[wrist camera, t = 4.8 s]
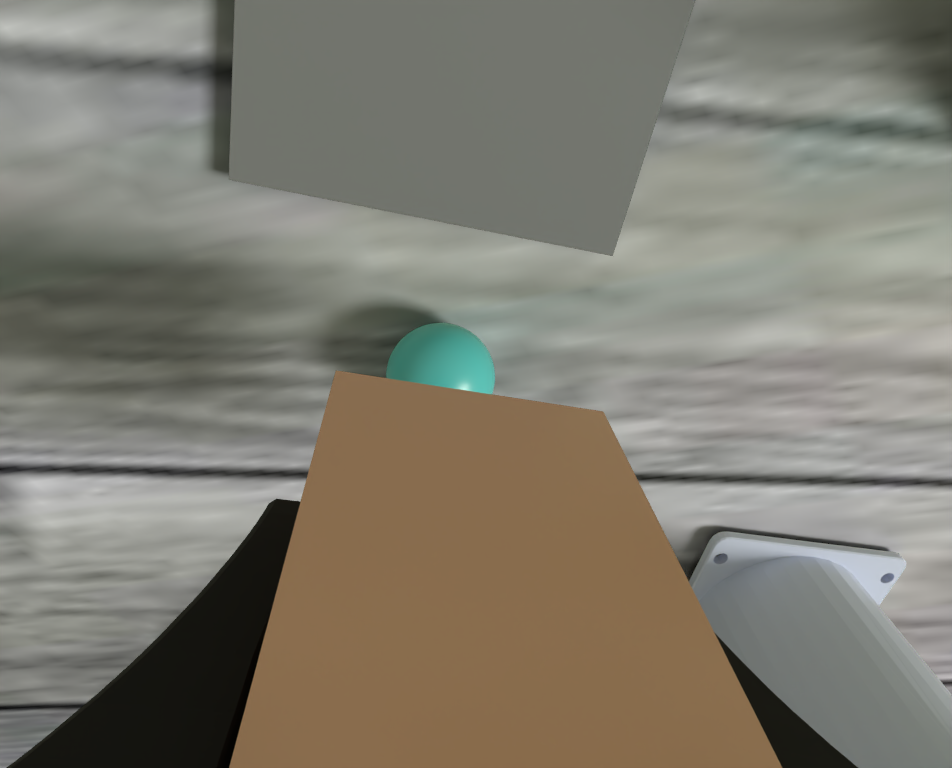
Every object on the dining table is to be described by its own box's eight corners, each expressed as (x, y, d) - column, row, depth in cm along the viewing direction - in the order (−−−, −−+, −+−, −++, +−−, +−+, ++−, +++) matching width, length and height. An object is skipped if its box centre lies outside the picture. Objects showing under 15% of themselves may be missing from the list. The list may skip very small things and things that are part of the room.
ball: (477, 404, 19) (486, 460, 17) (381, 389, 19) (375, 444, 16) (499, 316, 18) (513, 361, 15) (397, 298, 18) (392, 342, 15)
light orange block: (535, 600, 14) (625, 1030, 8) (309, 578, 13) (212, 1039, 7) (602, 411, 12) (801, 805, 6) (336, 370, 11) (225, 780, 5)
